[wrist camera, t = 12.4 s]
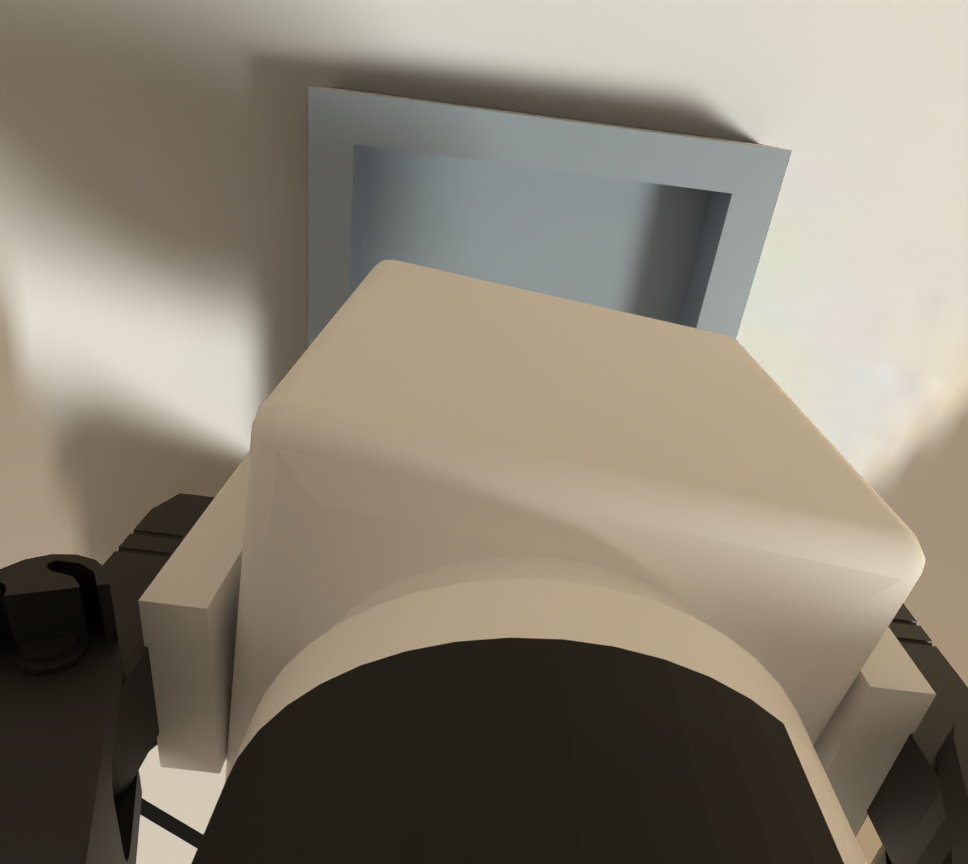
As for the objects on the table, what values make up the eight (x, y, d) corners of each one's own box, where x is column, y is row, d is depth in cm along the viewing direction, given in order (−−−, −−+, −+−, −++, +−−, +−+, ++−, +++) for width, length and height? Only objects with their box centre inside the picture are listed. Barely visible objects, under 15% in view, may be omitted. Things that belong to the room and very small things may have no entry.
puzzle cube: (497, 633, 28) (490, 881, 20) (339, 742, 32) (272, 998, 23) (312, 478, 25) (204, 688, 17) (160, 618, 29) (1, 855, 20)
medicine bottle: (333, 554, 16) (-44, 1509, 5) (377, 250, 13) (-339, 1063, 2) (628, 613, 16) (850, 1609, 6) (741, 334, 13) (1734, 1369, 2)
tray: (331, 87, 20) (307, 86, 17) (760, 144, 20) (791, 150, 18) (325, 464, 25) (306, 501, 23) (660, 505, 25) (674, 545, 23)
